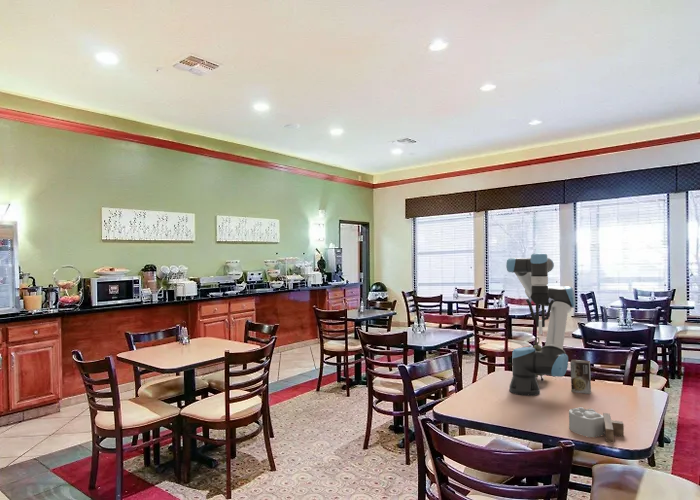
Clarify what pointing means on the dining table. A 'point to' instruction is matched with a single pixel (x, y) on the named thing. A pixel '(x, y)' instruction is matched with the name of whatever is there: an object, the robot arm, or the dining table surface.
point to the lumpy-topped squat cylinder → (586, 422)
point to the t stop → (612, 428)
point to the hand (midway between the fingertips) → (540, 333)
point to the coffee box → (580, 376)
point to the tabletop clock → (538, 348)
